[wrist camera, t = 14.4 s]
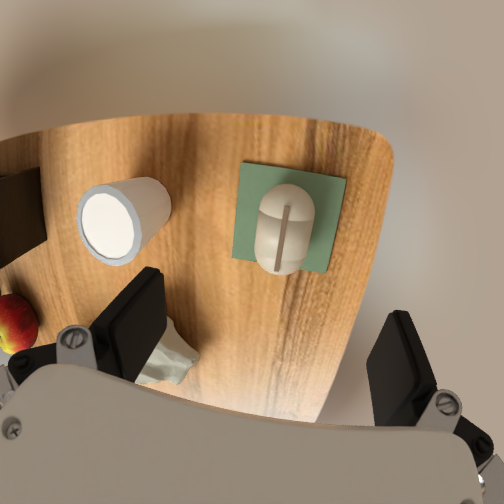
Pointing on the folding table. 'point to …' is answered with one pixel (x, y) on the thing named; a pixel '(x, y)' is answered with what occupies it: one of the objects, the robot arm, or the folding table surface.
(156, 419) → the robot arm
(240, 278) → the folding table surface
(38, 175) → the long dark rectangular box
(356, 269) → the folding table surface
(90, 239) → the white cup
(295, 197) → the cream rounded oblong block
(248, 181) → the mat
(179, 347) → the decorative stone
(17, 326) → the fruit
